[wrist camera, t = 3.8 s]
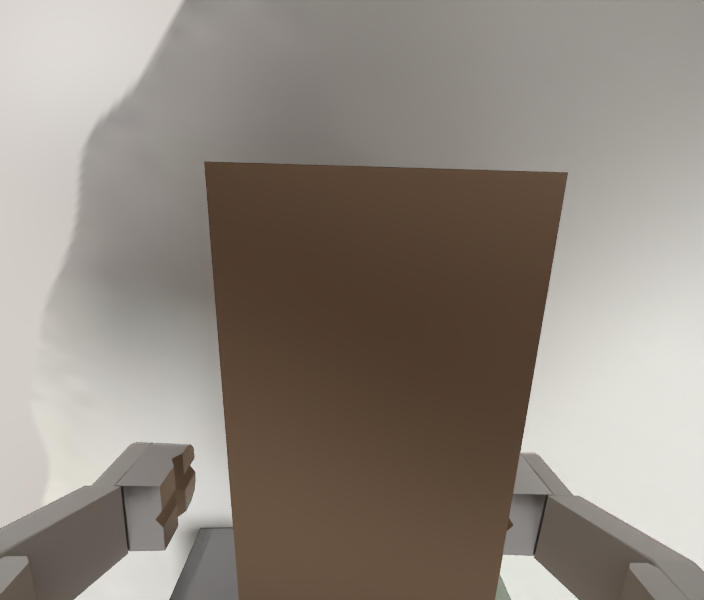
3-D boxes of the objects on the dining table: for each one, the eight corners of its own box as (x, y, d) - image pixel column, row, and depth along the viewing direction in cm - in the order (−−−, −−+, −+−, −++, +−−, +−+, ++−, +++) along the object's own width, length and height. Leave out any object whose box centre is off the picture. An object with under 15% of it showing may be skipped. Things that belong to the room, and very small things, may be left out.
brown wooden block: (291, 204, 16) (49, 157, 3) (378, 206, 16) (567, 172, 3) (297, 482, 20) (210, 1035, 7) (367, 482, 20) (423, 1019, 7)
